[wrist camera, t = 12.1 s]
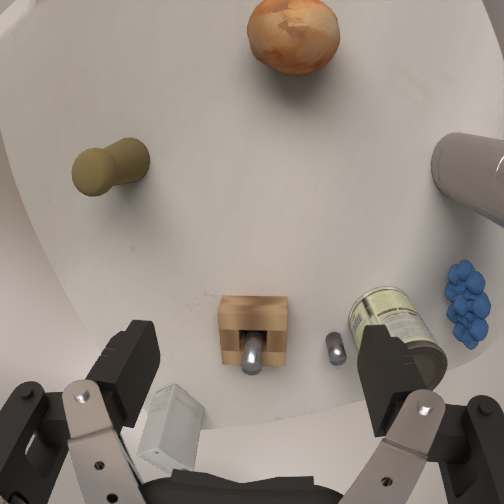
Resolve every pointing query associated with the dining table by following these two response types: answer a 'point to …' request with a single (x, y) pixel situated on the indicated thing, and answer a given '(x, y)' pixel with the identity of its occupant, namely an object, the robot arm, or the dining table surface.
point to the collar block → (253, 327)
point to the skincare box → (172, 431)
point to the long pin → (252, 352)
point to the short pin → (335, 348)
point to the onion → (293, 35)
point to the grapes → (467, 304)
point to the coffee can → (400, 329)
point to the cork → (110, 166)
